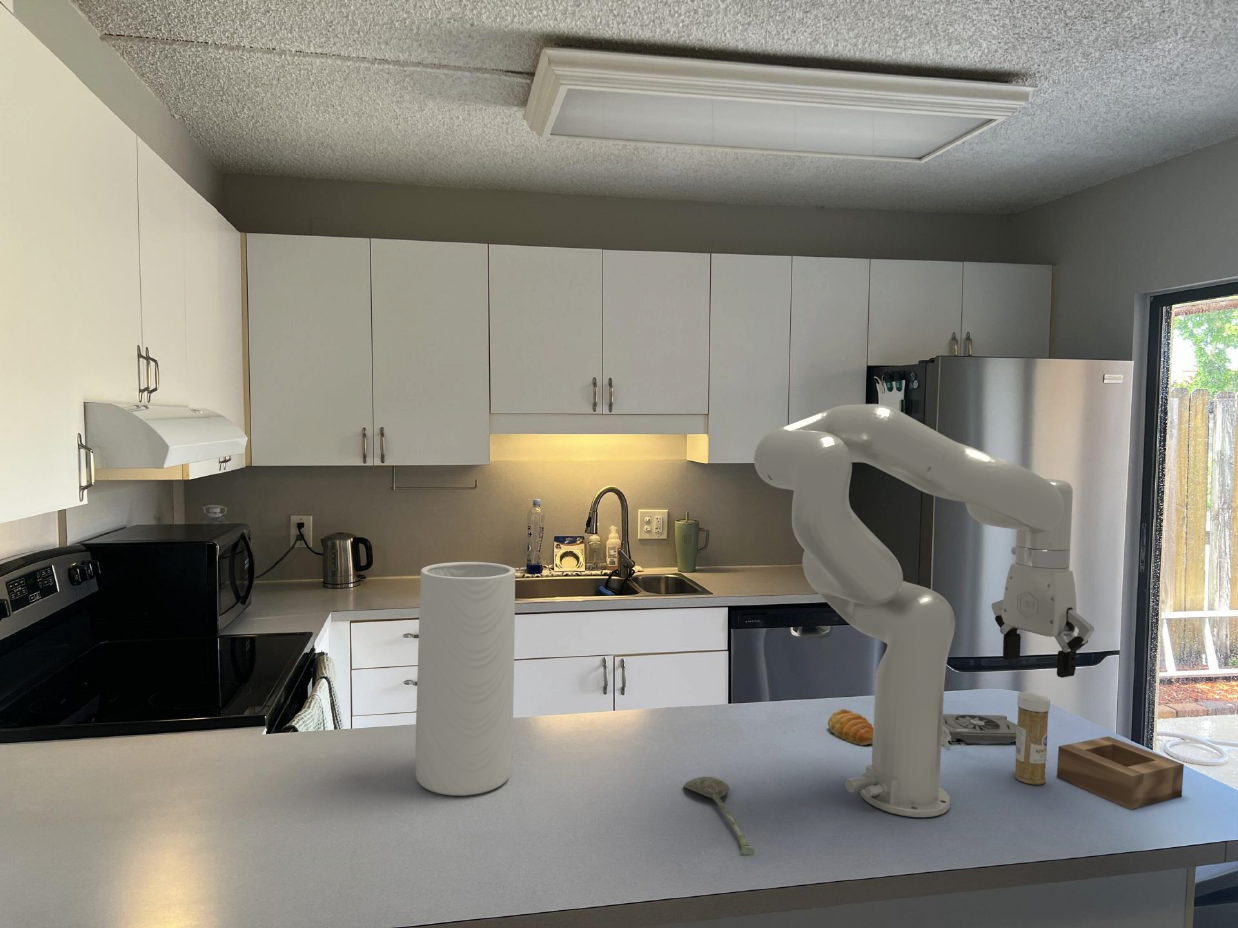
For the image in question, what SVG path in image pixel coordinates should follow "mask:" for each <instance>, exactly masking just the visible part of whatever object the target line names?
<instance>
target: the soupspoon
mask: <svg viewBox="0 0 1238 928" xmlns="http://www.w3.org/2000/svg"><path fill="white" fill-rule="evenodd" d="M683 787H684V788H686V789H689V790H691V791H693V792H695V793H698V794H701V795H702V796H706V797H708V798H710V799H712V800H713V801H714V802H715V803H716V805H718V807H719V808H720V810H721V811H722V812H723V814H724V816H725V817H726V818H727V820H728V822H729V823H730V825H731V827H732V828H733V830H734V832H735V834H736V836H737V841H738V842H739V845H740V851H739V854H740V855H741V856H750V855H751V856H752V855H753V854H754V853H755V849H754V847H752V846H751V845H749V844H748V842H747V839H746V837H745V835H744V834H743V833H742V831H741V829H740V828H739V825H738V824H737V822H736V821H735V819H734V817H733V816H732V814H731V813H730V811H729V809H728V808H727V806H726V805H725V803H724V802H723V800H722V799H721V798H722V797H723V796H725V795H726V794H727V793H728V792H729V790H730V785H729V784H728V783H727V782H725V781H724V780H722V779H720V778H717V777H713V776H712V777H711V776H699V777H694V778H692V779H690V780H688V781H687V782H686V783H684V785H683Z"/></svg>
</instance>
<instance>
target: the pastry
mask: <svg viewBox="0 0 1238 928" xmlns="http://www.w3.org/2000/svg"><path fill="white" fill-rule="evenodd" d="M827 725H828V728H829V730H830V733H832V734H834V736H836V737H837V738H840V739H842V740H843V741H845V742H848V743H851V744H853V745H855V744H856V745H859V746H863V745H864V746H865V745H873V724H872V723H870V721H869V720H867V717H865V716H862V715H861V713H860V714H859V713H855V712H853V711H851V710H849V709H847V708H844V709H838V710H837V711H836V712H833V713H832V715H830V717H829V719H828V721H827Z"/></svg>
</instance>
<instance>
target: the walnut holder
mask: <svg viewBox="0 0 1238 928" xmlns="http://www.w3.org/2000/svg"><path fill="white" fill-rule="evenodd" d="M1056 765H1057V770H1056V778H1058V779H1059V780H1062V781H1065V782H1067V783H1068V784H1069V783H1070V784H1071V785H1074V786H1076V787H1078V788H1081V789H1083V790H1085V791H1087V792H1090V793H1092V794H1094V795H1096V796H1098V797H1101V798H1102V799H1104V800H1105V799H1106V800H1107V801H1110V802H1113V803H1115V804H1117V805H1118V806H1121V807H1124V808H1126V809H1128V810H1130V811H1131V810H1135V809H1139V808H1141V807H1142V808H1143V807H1146V806H1151V805H1154V804H1158V803H1162V802H1165V801H1169V800H1174V799H1177V798H1181V797H1182V796H1183V795H1182V794H1183V782H1184V781H1183V780H1184V767H1185V763H1182V762H1180V761H1176V760H1173V759H1171V758H1168V757H1166V756H1163V755H1160V754H1158V753H1154V752H1152V751H1150V750H1146V749H1145V748H1144V749H1143V748H1141V747H1139V746H1136V745H1133V744H1132V743H1131V744H1130V743H1128V742H1125V741H1123V740H1119V739H1118V738H1115V737H1112V736H1104V737H1098V738H1094V739H1093V738H1092V739H1089V740H1083V741H1077V742H1074V743H1073V742H1071V743H1068V744H1062V745H1059V746H1058V749H1057V764H1056Z"/></svg>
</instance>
